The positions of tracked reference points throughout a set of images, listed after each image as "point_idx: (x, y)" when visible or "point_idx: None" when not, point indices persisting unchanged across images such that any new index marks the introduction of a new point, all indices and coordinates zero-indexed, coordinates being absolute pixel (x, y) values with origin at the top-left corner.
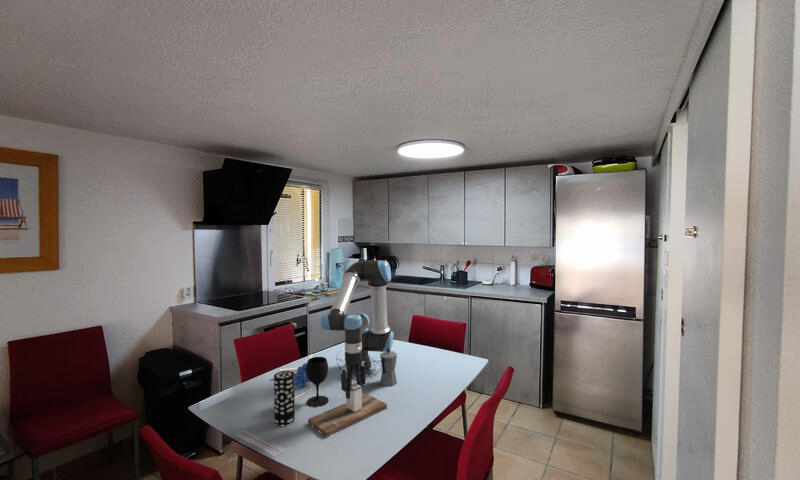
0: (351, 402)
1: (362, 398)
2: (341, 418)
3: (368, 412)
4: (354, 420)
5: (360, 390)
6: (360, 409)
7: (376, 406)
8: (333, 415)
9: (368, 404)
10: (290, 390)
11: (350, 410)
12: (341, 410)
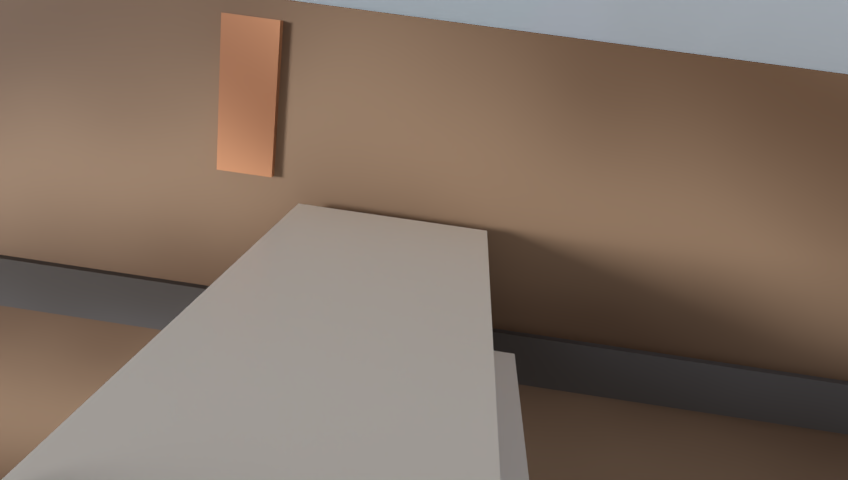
0: None
1: None
2: (789, 283)
3: (286, 6)
4: (663, 52)
5: (120, 443)
6: None
7: (9, 43)
8: (775, 466)
9: (80, 233)
10: None
11: None
12: (561, 470)
